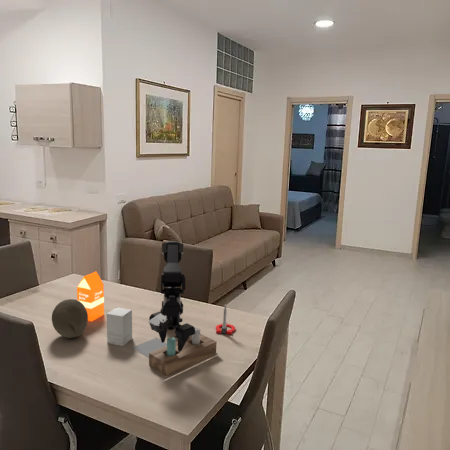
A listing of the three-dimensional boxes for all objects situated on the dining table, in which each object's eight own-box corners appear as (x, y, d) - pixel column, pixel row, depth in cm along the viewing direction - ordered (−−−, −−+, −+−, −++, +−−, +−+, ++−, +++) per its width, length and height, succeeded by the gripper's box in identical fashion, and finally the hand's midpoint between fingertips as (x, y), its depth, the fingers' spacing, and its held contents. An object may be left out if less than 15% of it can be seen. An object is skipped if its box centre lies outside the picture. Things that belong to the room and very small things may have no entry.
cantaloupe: (95, 331, 177) (94, 297, 174) (76, 346, 164) (75, 309, 161) (65, 326, 180) (63, 293, 177) (44, 341, 167) (42, 305, 164)
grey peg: (190, 354, 161) (190, 329, 159) (195, 351, 163) (196, 327, 161) (195, 357, 159) (196, 332, 157) (201, 354, 161) (202, 329, 159)
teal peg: (171, 362, 155) (171, 336, 153) (176, 365, 153) (177, 339, 151) (165, 365, 153) (165, 339, 151) (170, 368, 151) (170, 342, 149)
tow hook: (217, 325, 188) (213, 333, 179) (218, 297, 186) (215, 304, 177) (236, 327, 187) (233, 335, 178) (237, 299, 185) (235, 306, 176)
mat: (131, 348, 164) (131, 347, 164) (156, 338, 172) (156, 337, 172) (150, 359, 156) (150, 358, 156) (175, 349, 164) (175, 348, 164)
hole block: (149, 365, 152) (149, 353, 151) (198, 344, 169) (198, 332, 168) (166, 377, 145) (167, 363, 144) (216, 353, 162) (216, 341, 161)
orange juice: (77, 318, 189) (76, 275, 185) (90, 311, 197) (89, 269, 193) (91, 321, 186) (90, 278, 182) (104, 314, 194) (103, 272, 190)
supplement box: (132, 339, 171) (132, 309, 169) (122, 347, 165) (122, 316, 162) (117, 335, 174) (116, 306, 171) (106, 343, 167) (105, 313, 164)
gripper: (136, 303, 149) (136, 344, 152) (171, 319, 136) (170, 364, 139) (162, 295, 157) (161, 335, 160) (196, 310, 144) (195, 353, 147)
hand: (171, 346), depth 151 cm, fingers open, 9 cm apart
